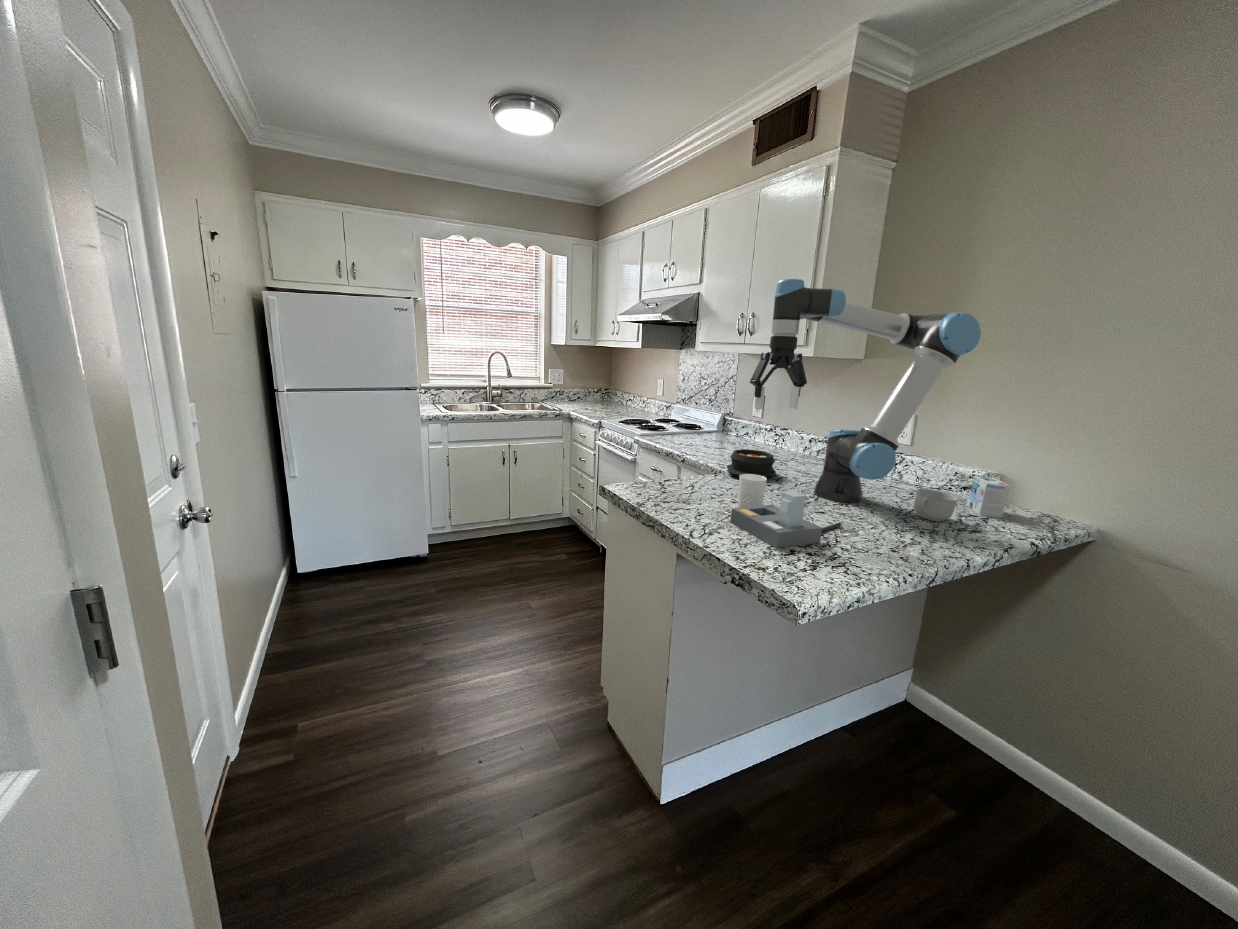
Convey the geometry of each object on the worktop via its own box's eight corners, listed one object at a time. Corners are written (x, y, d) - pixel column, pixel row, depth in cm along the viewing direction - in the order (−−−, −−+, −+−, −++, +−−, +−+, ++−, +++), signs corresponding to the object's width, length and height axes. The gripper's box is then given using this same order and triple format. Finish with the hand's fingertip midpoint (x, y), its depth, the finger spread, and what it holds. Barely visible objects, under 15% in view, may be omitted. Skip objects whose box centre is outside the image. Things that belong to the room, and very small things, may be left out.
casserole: (764, 485, 183) (767, 462, 181) (715, 475, 192) (718, 453, 190) (783, 473, 204) (786, 452, 202) (738, 464, 213) (740, 445, 211)
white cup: (743, 503, 159) (746, 472, 157) (767, 509, 154) (771, 477, 152) (731, 508, 153) (735, 476, 151) (755, 515, 148) (760, 482, 146)
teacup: (928, 511, 163) (933, 487, 161) (961, 523, 153) (966, 497, 151) (896, 514, 158) (901, 489, 156) (928, 526, 148) (933, 500, 146)
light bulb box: (966, 506, 172) (973, 475, 169) (988, 508, 170) (996, 477, 168) (979, 515, 162) (986, 483, 159) (1003, 518, 160) (1011, 485, 158)
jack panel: (770, 518, 146) (772, 504, 145) (819, 542, 130) (822, 527, 129) (730, 522, 141) (731, 507, 140) (776, 548, 124) (778, 532, 123)
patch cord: (837, 525, 144) (838, 521, 144) (841, 526, 143) (841, 523, 143) (805, 535, 134) (805, 532, 133) (808, 537, 133) (809, 533, 133)
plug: (788, 535, 133) (794, 491, 131) (799, 540, 130) (806, 495, 127) (773, 536, 132) (780, 492, 129) (784, 542, 128) (791, 496, 125)
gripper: (805, 337, 157) (797, 406, 162) (742, 333, 146) (735, 407, 151) (825, 337, 150) (815, 409, 155) (760, 333, 139) (752, 410, 144)
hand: (776, 408), depth 153 cm, fingers open, 13 cm apart
